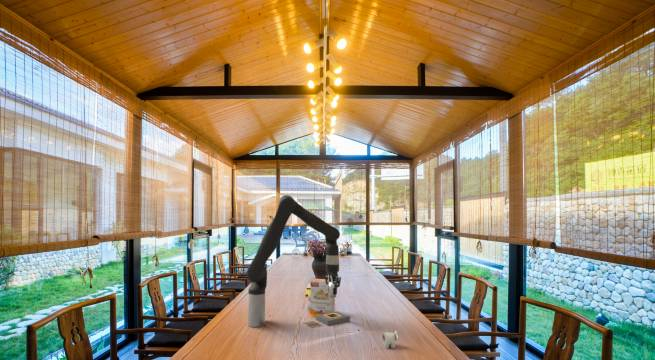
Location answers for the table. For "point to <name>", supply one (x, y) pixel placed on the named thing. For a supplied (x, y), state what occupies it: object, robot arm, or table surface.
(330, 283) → the steel peg
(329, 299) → the cracker box
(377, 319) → the table surface
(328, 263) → the robot arm
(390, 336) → the elephant figurine
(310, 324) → the brown rectangular block
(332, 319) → the hole block
